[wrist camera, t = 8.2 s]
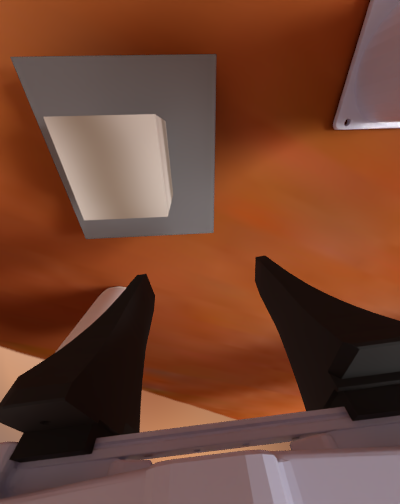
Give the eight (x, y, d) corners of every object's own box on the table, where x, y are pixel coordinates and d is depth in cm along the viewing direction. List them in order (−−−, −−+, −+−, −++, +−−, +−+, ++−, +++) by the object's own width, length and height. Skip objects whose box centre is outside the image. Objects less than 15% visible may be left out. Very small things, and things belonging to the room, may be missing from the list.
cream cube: (165, 121, 13) (154, 114, 8) (173, 194, 15) (167, 216, 11) (91, 123, 12) (42, 116, 8) (112, 196, 15) (84, 220, 11)
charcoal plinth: (210, 69, 13) (216, 54, 11) (210, 220, 20) (213, 232, 17) (44, 72, 13) (10, 56, 11) (99, 225, 20) (86, 238, 17)
